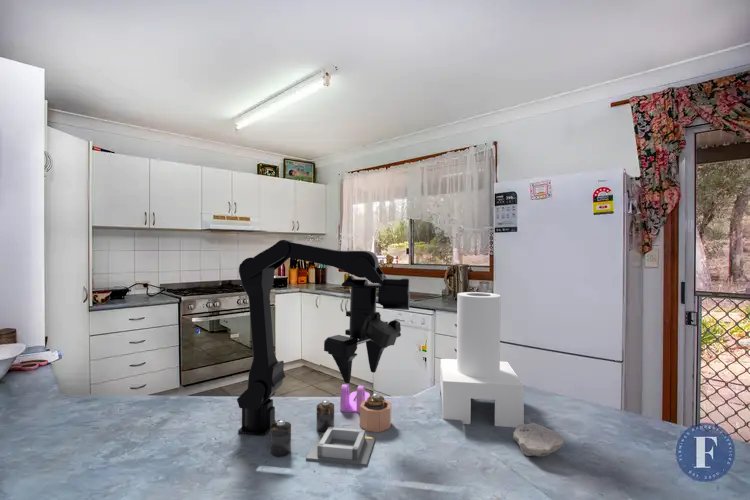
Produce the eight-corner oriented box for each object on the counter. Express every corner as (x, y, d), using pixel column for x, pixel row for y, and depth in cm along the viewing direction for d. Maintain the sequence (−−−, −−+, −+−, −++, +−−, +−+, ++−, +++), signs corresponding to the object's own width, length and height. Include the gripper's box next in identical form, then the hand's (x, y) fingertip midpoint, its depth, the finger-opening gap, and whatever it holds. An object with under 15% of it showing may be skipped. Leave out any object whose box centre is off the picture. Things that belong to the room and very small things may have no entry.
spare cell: (267, 460, 75) (267, 424, 75) (275, 449, 79) (275, 415, 79) (286, 462, 74) (286, 426, 74) (293, 451, 78) (294, 417, 78)
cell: (314, 435, 85) (314, 404, 85) (319, 427, 89) (319, 397, 89) (331, 437, 84) (331, 405, 84) (336, 428, 88) (336, 398, 88)
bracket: (361, 416, 95) (362, 389, 95) (340, 414, 96) (340, 387, 96) (371, 396, 108) (371, 372, 108) (352, 395, 109) (352, 370, 109)
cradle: (305, 464, 74) (305, 447, 74) (321, 438, 84) (321, 423, 84) (366, 470, 72) (366, 453, 72) (375, 443, 82) (375, 428, 82)
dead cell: (365, 427, 87) (365, 397, 87) (368, 419, 91) (369, 390, 91) (382, 429, 86) (383, 398, 86) (385, 421, 90) (385, 391, 90)
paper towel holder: (440, 392, 111) (441, 289, 110) (507, 396, 108) (508, 291, 108) (442, 422, 92) (443, 298, 92) (523, 427, 89) (525, 300, 89)
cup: (357, 433, 86) (358, 409, 86) (363, 419, 93) (363, 397, 93) (388, 436, 85) (388, 412, 85) (392, 422, 92) (392, 399, 92)
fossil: (531, 453, 73) (507, 412, 82) (526, 476, 76) (504, 434, 85) (573, 446, 74) (545, 407, 83) (567, 469, 77) (540, 429, 86)
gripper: (365, 318, 72) (363, 400, 72) (415, 307, 87) (413, 375, 87) (323, 310, 79) (320, 385, 79) (376, 301, 94) (374, 364, 94)
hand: (360, 377), depth 84 cm, fingers open, 9 cm apart
